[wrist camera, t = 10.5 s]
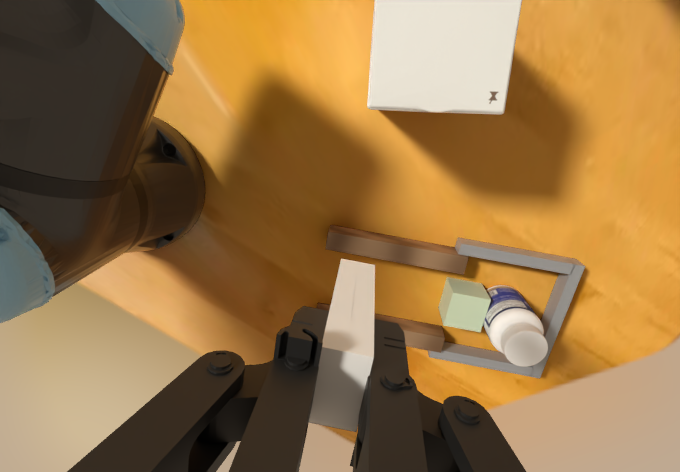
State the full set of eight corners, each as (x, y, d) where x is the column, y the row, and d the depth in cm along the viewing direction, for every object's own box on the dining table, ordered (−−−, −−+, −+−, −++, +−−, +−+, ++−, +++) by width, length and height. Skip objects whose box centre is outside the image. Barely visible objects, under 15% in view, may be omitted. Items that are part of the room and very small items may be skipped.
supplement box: (475, 9, 37) (537, -48, 22) (461, 111, 39) (508, 118, 25) (376, 6, 37) (376, -51, 23) (370, 107, 40) (366, 111, 26)
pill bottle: (525, 320, 46) (557, 369, 38) (478, 327, 47) (500, 377, 39) (520, 279, 45) (553, 321, 36) (472, 287, 45) (494, 330, 37)
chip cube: (438, 307, 47) (443, 325, 43) (446, 276, 45) (453, 292, 42) (472, 313, 47) (480, 332, 43) (481, 283, 45) (491, 299, 41)
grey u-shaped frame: (427, 347, 48) (429, 357, 47) (457, 237, 44) (461, 243, 42) (533, 367, 48) (539, 378, 46) (576, 259, 43) (585, 266, 41)
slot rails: (315, 317, 48) (312, 328, 46) (330, 224, 44) (328, 231, 42) (437, 340, 48) (440, 352, 46) (463, 249, 44) (468, 257, 42)
